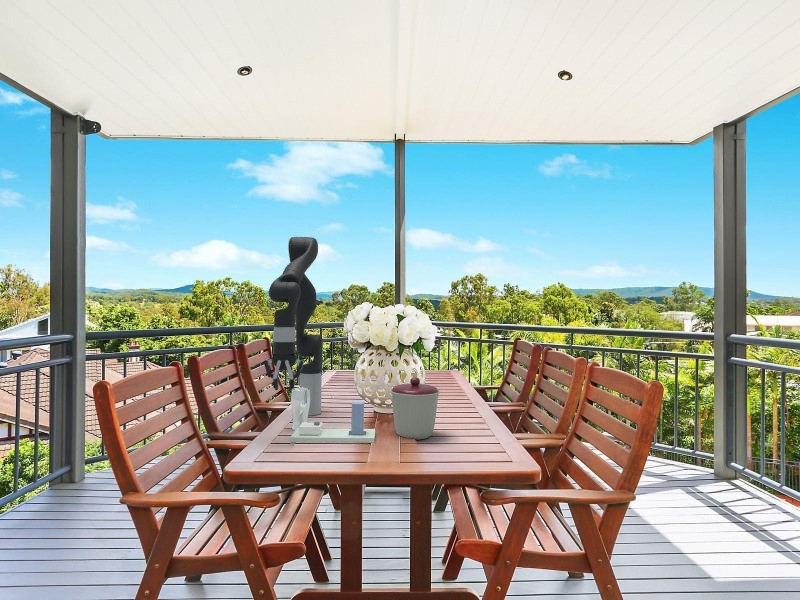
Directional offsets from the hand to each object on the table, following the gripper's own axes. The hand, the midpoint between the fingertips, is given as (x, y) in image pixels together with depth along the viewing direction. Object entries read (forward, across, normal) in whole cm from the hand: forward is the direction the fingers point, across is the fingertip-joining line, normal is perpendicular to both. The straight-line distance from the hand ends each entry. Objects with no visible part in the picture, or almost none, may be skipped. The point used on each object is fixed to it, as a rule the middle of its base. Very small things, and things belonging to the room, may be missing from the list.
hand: (283, 389), depth 181 cm
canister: (+17, -46, -6) cm, 49 cm away
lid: (+14, -10, 0) cm, 17 cm away
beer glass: (+17, -4, -15) cm, 23 cm away
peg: (+16, -26, 0) cm, 30 cm away
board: (+17, -18, 0) cm, 25 cm away
